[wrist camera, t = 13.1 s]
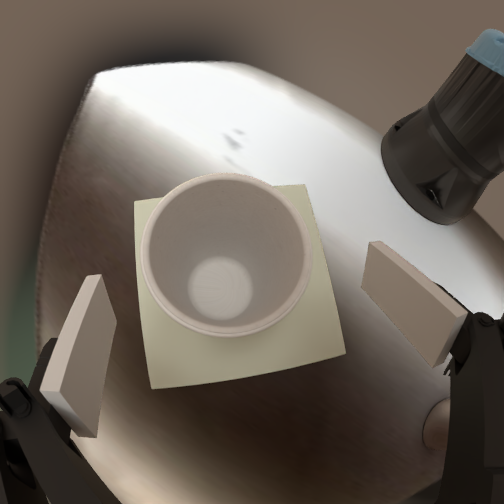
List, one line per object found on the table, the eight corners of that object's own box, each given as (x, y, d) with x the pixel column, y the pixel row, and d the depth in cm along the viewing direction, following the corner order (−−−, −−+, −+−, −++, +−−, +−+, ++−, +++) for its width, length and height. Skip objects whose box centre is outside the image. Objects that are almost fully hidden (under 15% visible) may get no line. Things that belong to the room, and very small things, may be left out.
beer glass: (415, 414, 22) (536, 429, 8) (457, 383, 23) (566, 377, 9) (422, 463, 20) (526, 493, 6) (463, 431, 21) (561, 439, 7)
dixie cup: (269, 345, 22) (313, 342, 12) (162, 335, 21) (126, 325, 12) (274, 245, 25) (312, 182, 15) (175, 234, 24) (157, 164, 14)
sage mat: (302, 188, 28) (305, 184, 27) (341, 353, 23) (346, 353, 22) (136, 205, 25) (134, 201, 24) (153, 387, 20) (151, 389, 19)
